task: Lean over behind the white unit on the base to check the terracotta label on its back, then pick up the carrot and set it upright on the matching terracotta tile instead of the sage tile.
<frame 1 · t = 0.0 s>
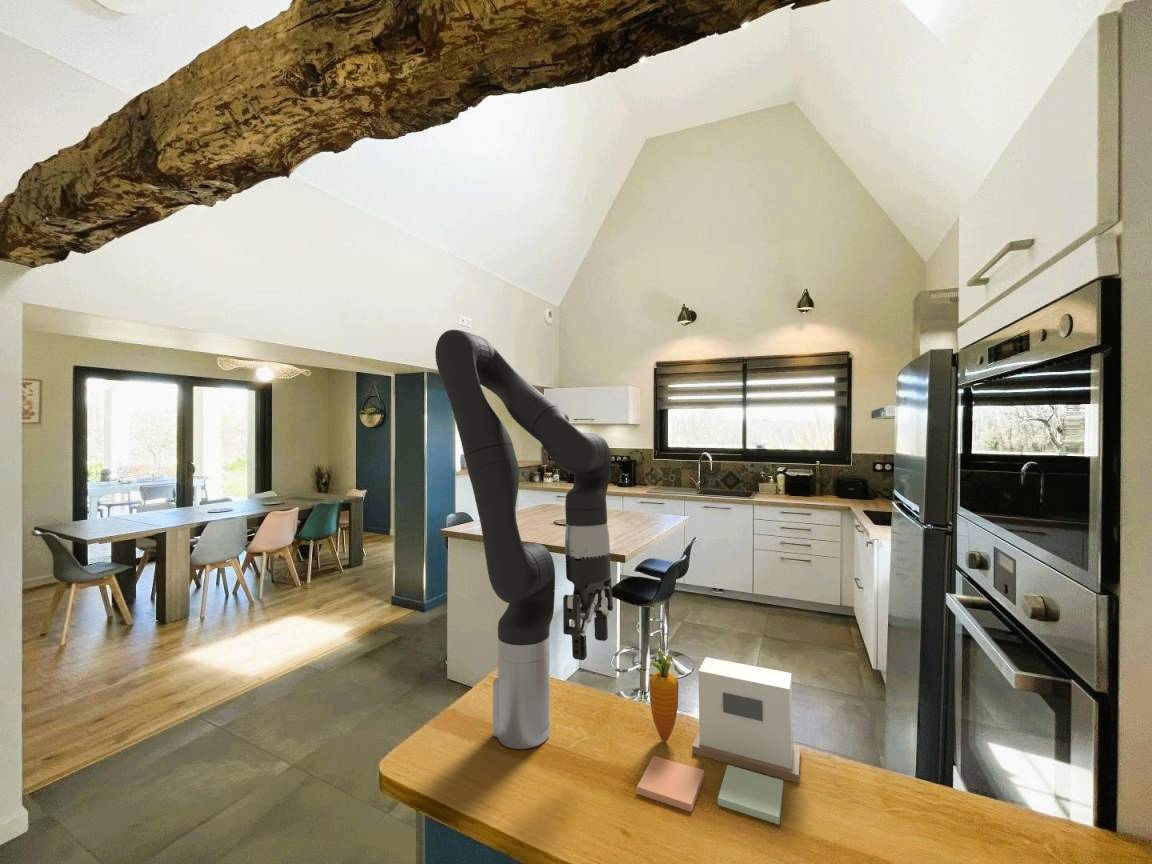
hand: (591, 648, 79), 17 cm above the countertop, tool pointing down, fingers open, 8 cm apart
sage tile: (751, 796, 69), on the countertop
terracotta tile: (671, 785, 71), on the countertop
white unit: (746, 753, 79), on the countertop
carrot: (664, 743, 82), on the countertop
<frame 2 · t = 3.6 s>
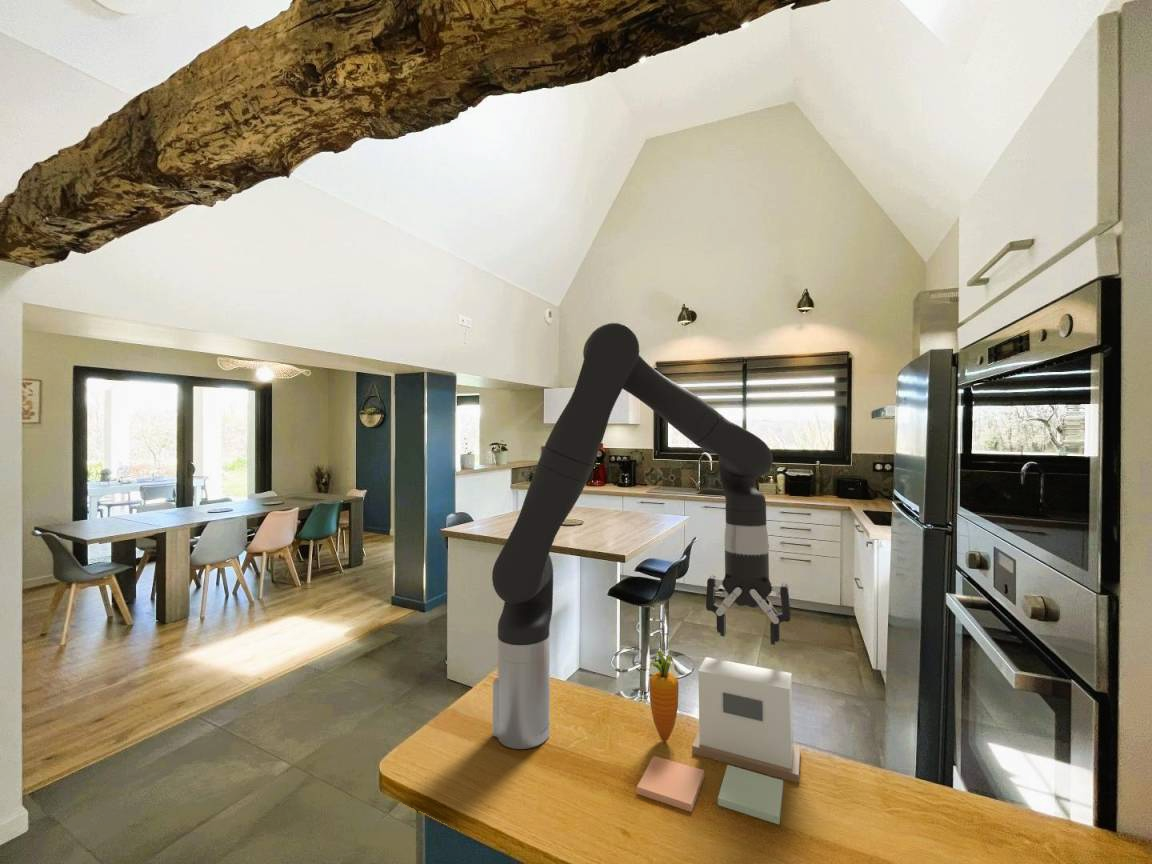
hand: (747, 639, 86), 16 cm above the countertop, tool pointing down, fingers open, 8 cm apart
nothing on the countertop moved.
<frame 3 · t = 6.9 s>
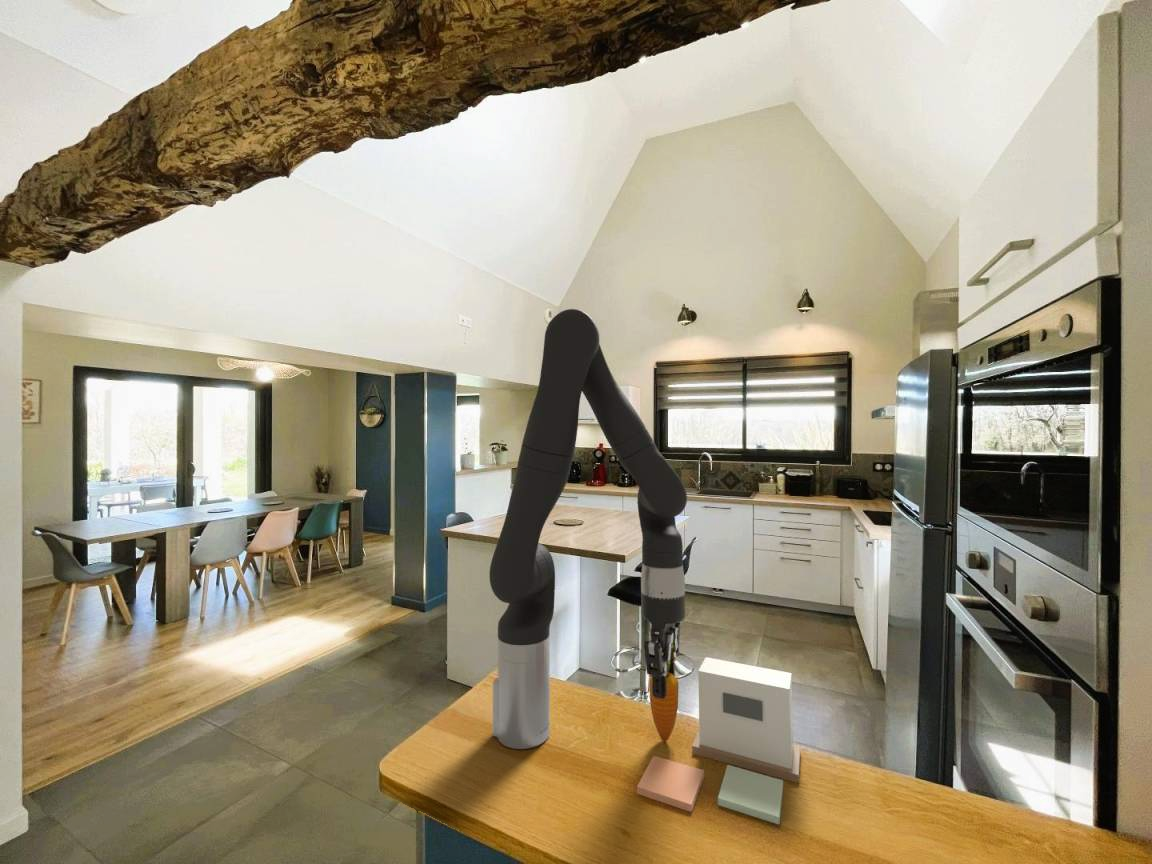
hand: (664, 689, 82), 9 cm above the countertop, tool pointing down, fingers closed on carrot, 4 cm apart
carrot: (664, 743, 82), on the countertop, touching gripper
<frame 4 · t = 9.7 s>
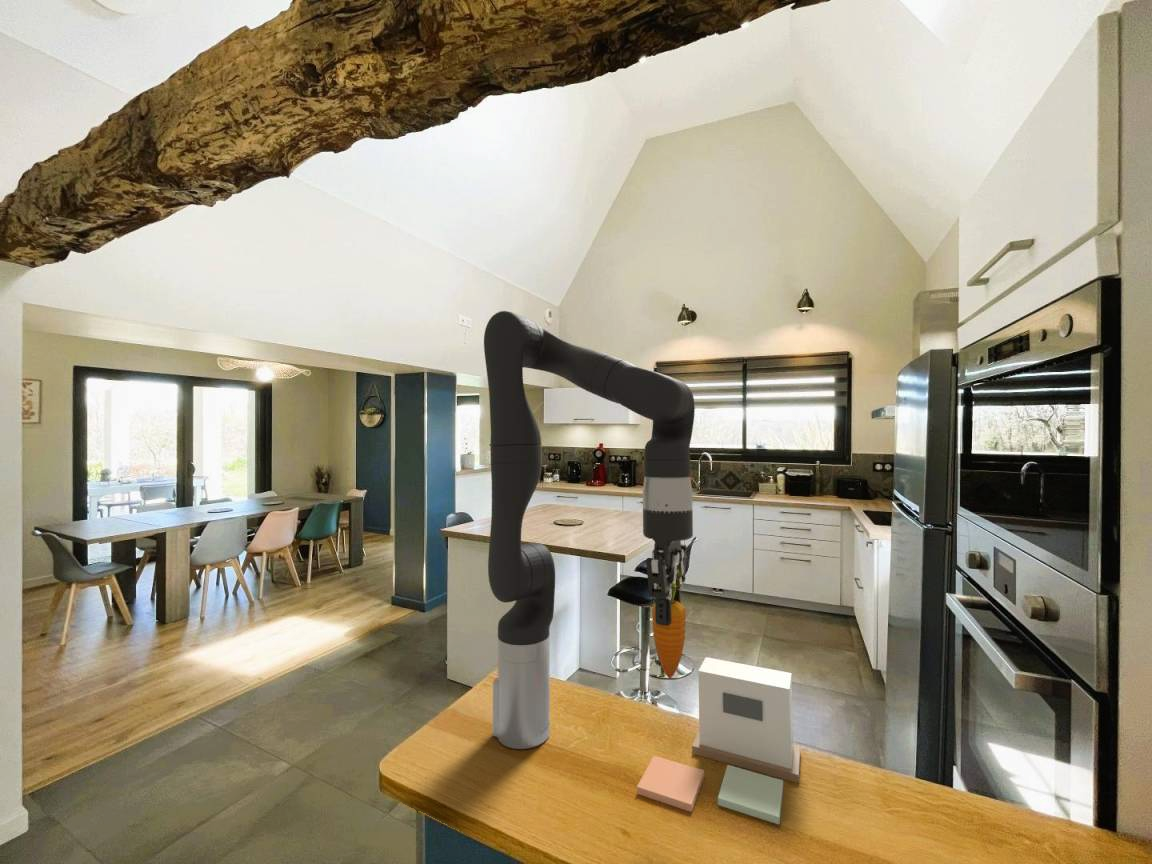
hand: (668, 618, 73), 25 cm above the countertop, tool pointing down, fingers closed on carrot, 4 cm apart
carrot: (669, 679, 72), point 16 cm above the countertop, touching gripper
when the fingers open (11 cm above the countertop, at t = 12.8 s): carrot drops 1 cm, resting on terracotta tile.
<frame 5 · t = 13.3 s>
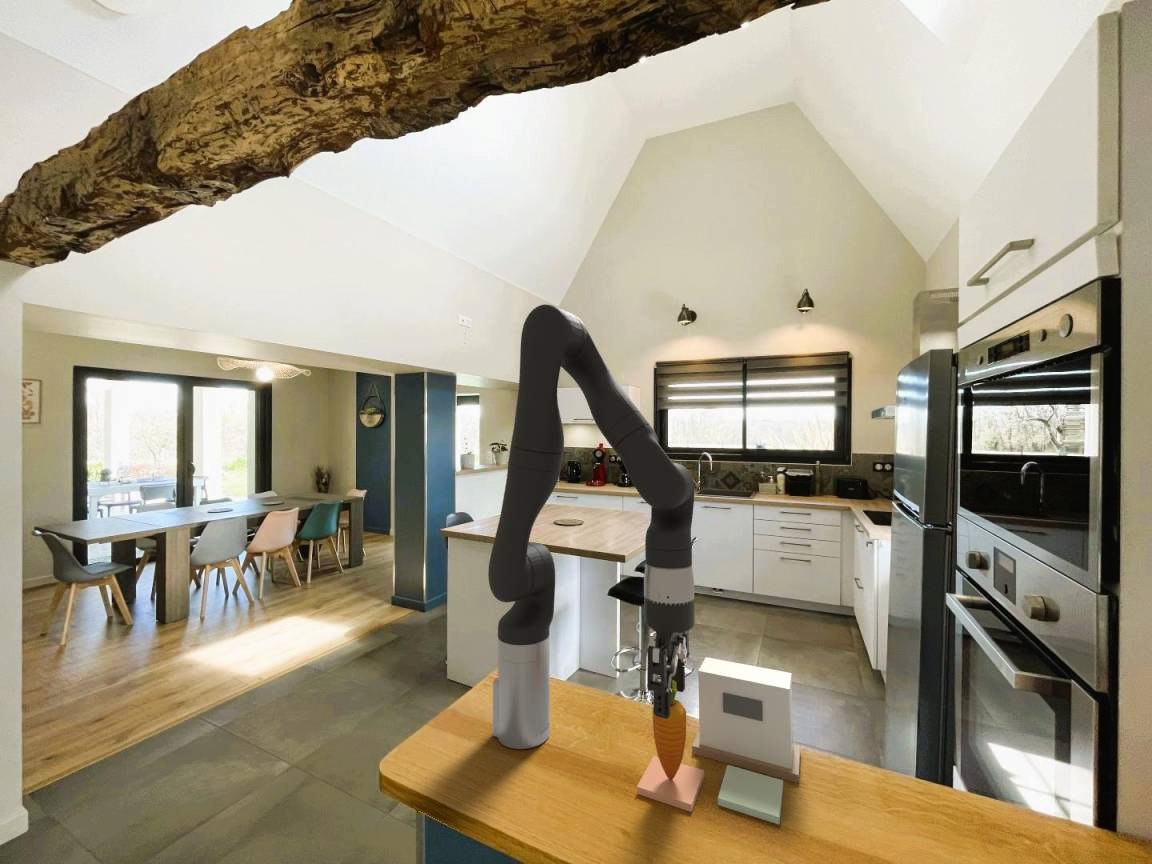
hand: (670, 702, 72), 12 cm above the countertop, tool pointing down, fingers open, 8 cm apart
carrot: (670, 780, 71), point 1 cm above the countertop, touching terracotta tile
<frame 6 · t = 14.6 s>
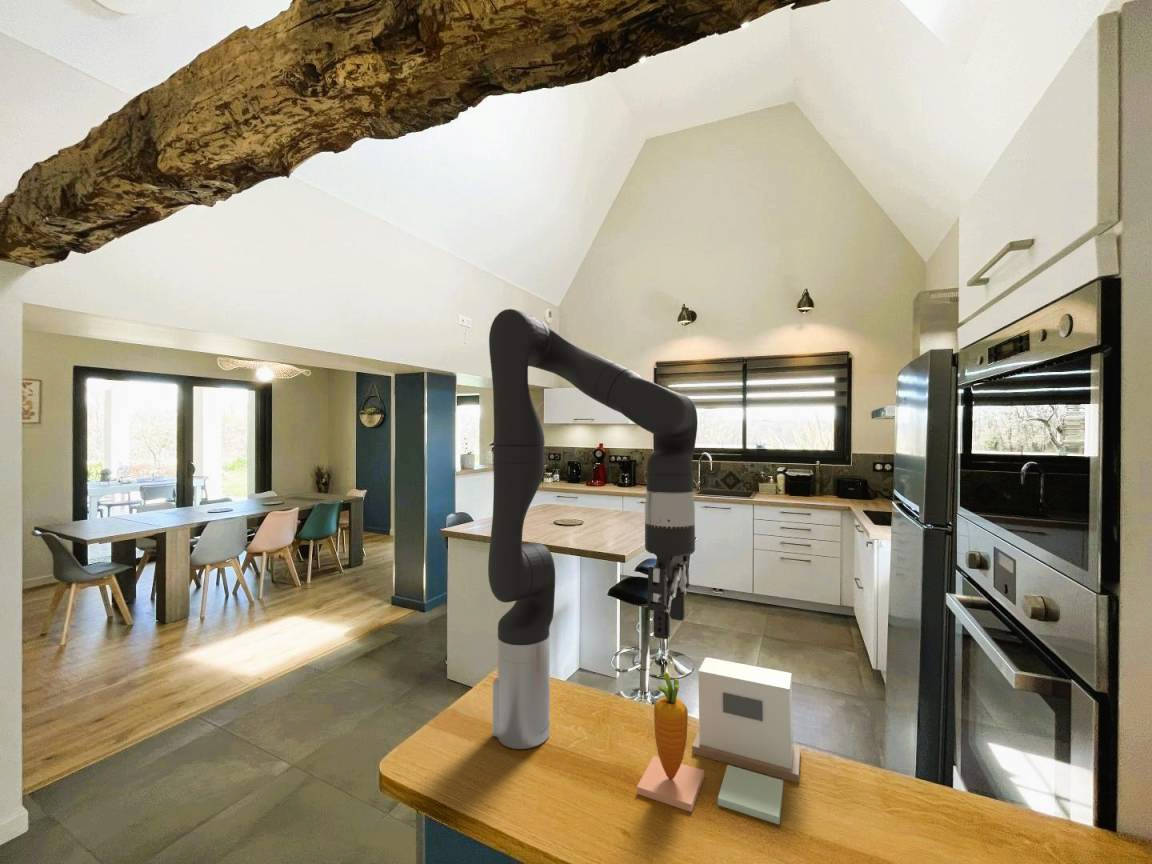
hand: (669, 627, 72), 23 cm above the countertop, tool pointing down, fingers open, 8 cm apart
nothing on the countertop moved.
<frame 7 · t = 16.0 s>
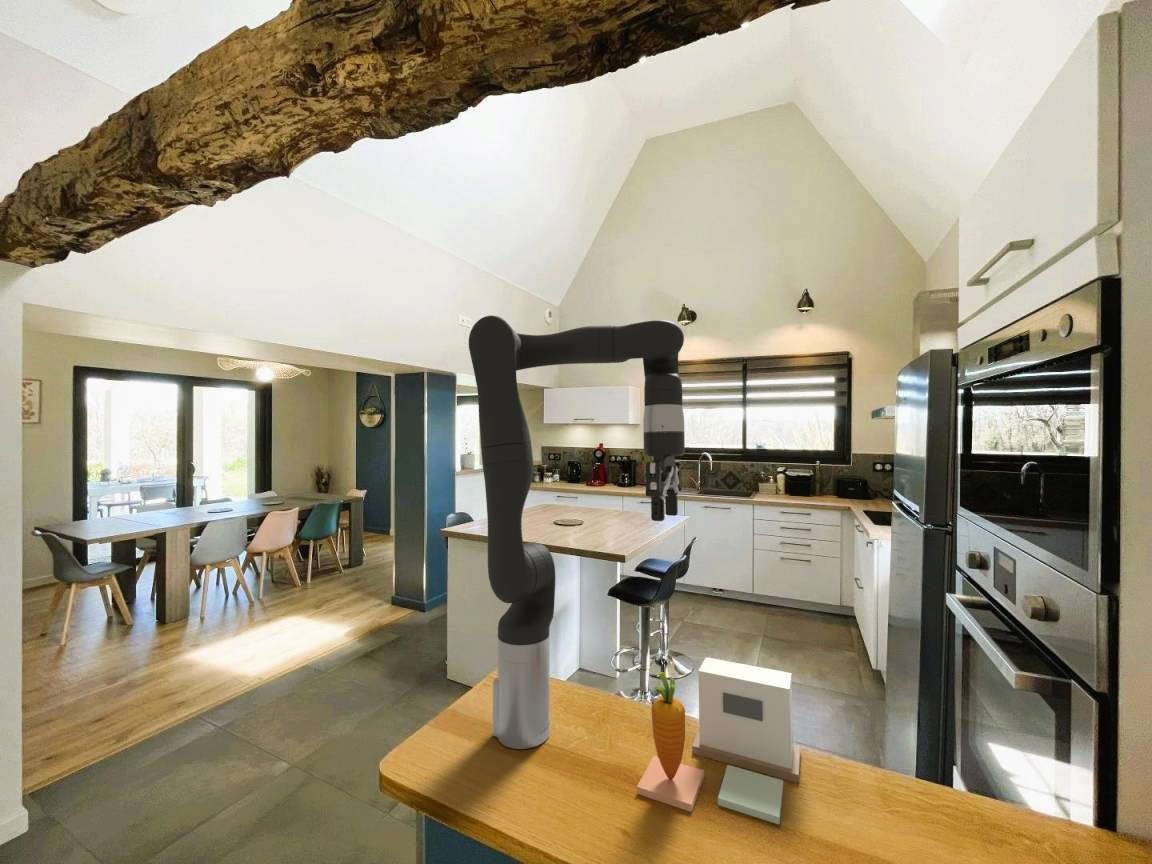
hand: (665, 517, 88), 38 cm above the countertop, tool pointing down, fingers open, 8 cm apart
nothing on the countertop moved.
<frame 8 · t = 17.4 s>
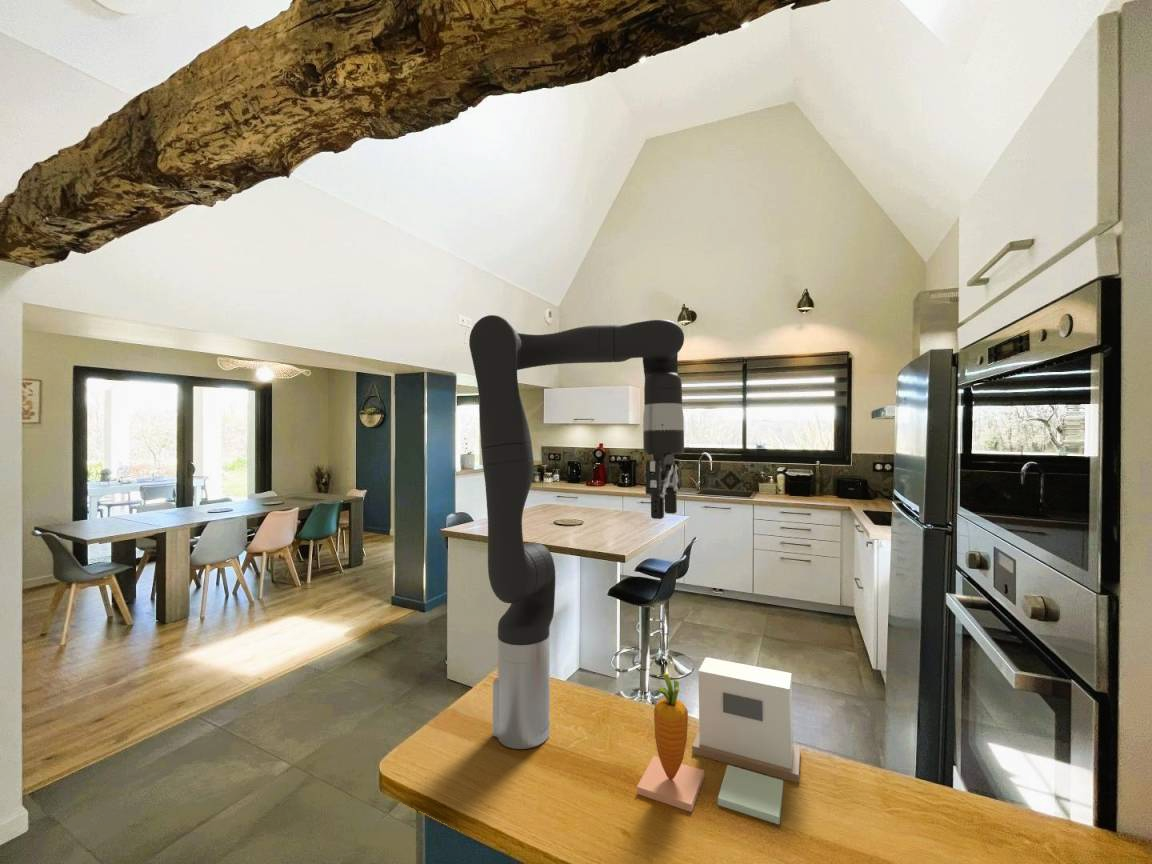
hand: (664, 515, 89), 38 cm above the countertop, tool pointing down, fingers open, 8 cm apart
nothing on the countertop moved.
at the end: carrot 0.3 cm off-centre on the terracotta tile, point 0.8 cm above the terracotta tile's base; carrot tilted 1°; the gripper is holding nothing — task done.
